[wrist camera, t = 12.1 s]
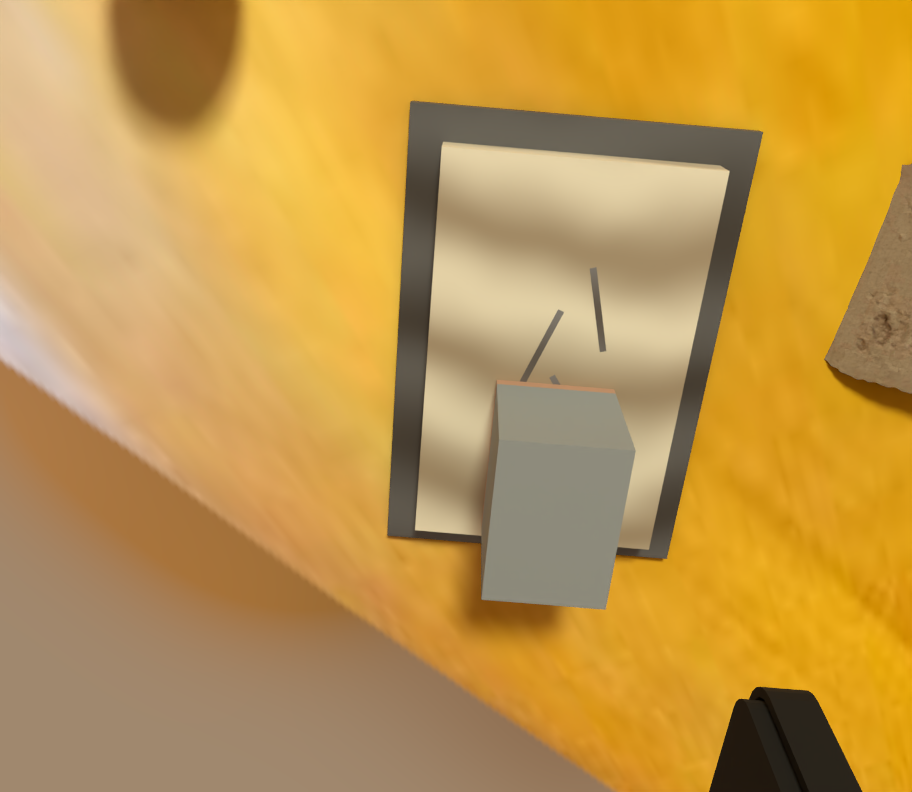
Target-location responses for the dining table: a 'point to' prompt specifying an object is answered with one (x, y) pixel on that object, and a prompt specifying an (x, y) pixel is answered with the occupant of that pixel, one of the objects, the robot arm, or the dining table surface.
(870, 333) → the clay tablet
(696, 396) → the board
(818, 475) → the dining table surface
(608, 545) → the block
